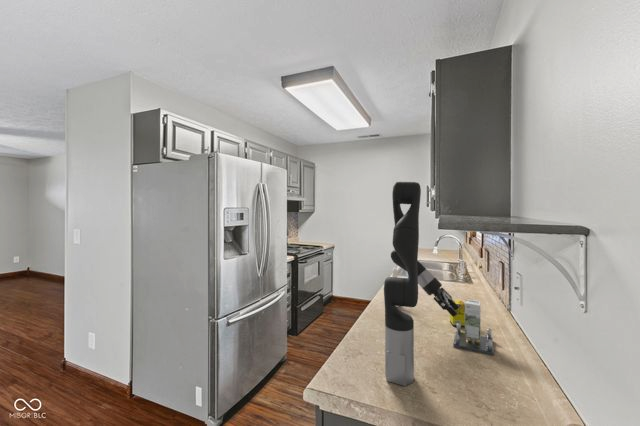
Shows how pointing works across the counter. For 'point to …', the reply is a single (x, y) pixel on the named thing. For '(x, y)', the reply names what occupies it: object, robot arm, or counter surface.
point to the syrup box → (472, 319)
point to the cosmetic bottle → (394, 275)
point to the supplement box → (459, 314)
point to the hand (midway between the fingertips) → (456, 312)
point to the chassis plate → (474, 342)
